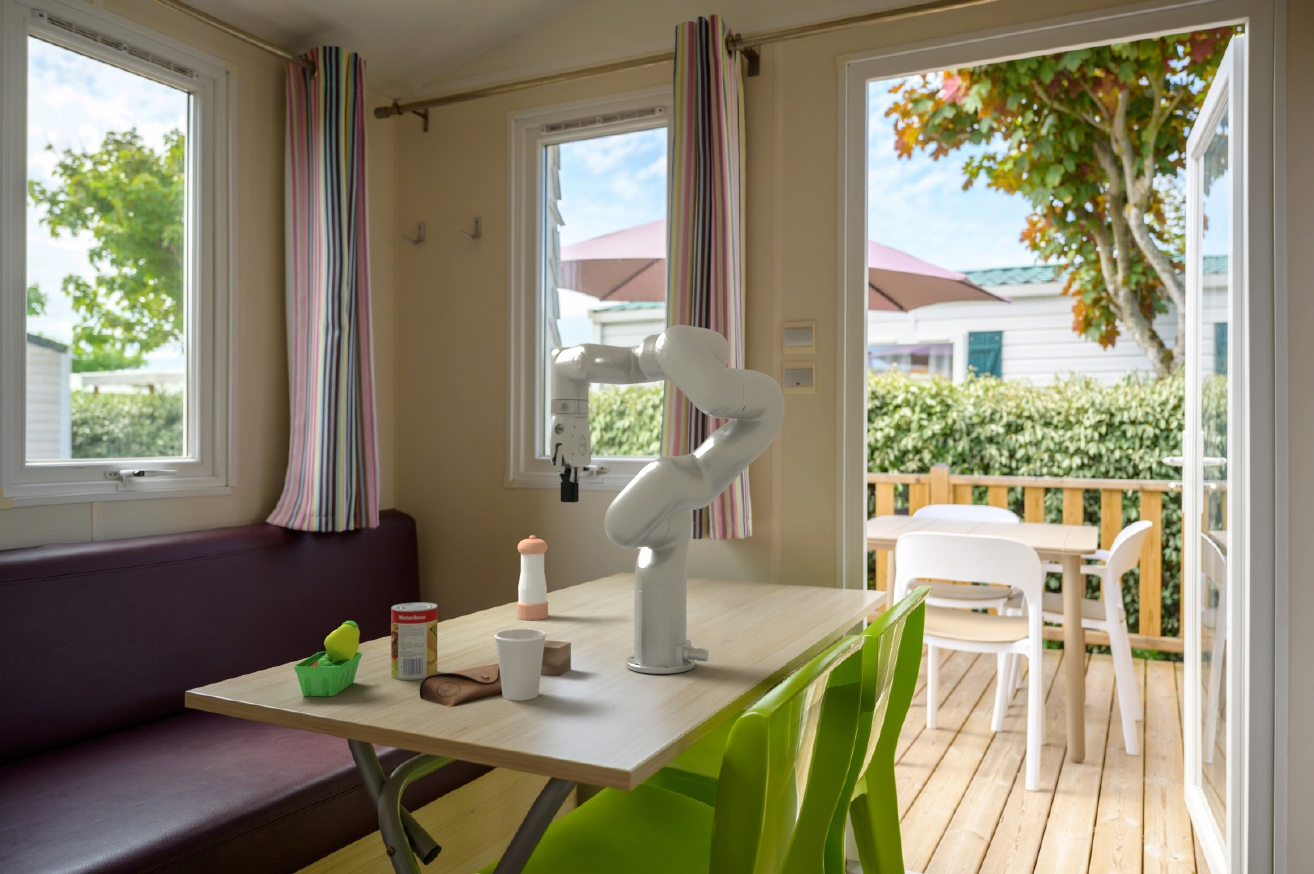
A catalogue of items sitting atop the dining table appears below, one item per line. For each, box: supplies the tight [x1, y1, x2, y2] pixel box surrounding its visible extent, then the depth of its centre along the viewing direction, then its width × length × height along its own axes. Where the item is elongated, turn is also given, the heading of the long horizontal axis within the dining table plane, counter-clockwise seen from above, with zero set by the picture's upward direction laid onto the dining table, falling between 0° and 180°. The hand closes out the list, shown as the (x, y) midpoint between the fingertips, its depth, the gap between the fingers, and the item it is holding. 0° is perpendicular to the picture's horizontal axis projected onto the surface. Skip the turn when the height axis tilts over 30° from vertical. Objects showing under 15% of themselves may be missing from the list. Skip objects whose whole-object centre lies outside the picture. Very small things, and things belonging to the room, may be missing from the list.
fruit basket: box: [293, 620, 363, 697], centre depth 153 cm, size 11×9×11 cm
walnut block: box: [541, 639, 572, 677], centre depth 165 cm, size 5×5×5 cm
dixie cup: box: [494, 628, 548, 702], centre depth 149 cm, size 8×8×10 cm
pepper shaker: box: [516, 535, 549, 621], centre depth 217 cm, size 7×7×19 cm
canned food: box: [390, 602, 438, 681], centre depth 163 cm, size 8×8×12 cm
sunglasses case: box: [419, 662, 503, 708], centre depth 152 cm, size 18×7×7 cm
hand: (569, 501), depth 184 cm, fingers closed
